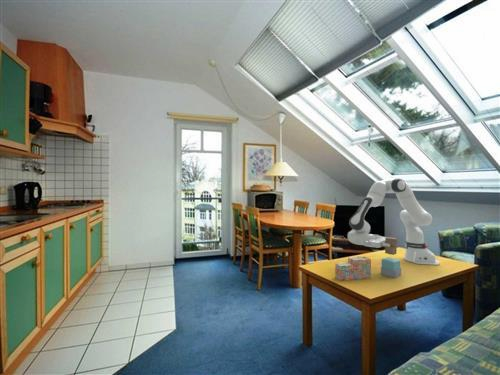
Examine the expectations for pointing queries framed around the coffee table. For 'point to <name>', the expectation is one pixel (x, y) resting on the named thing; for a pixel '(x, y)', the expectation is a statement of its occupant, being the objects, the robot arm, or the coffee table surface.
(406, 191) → the robot arm
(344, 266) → the stack of blocks
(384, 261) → the tower top
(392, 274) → the tower base
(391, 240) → the walnut block
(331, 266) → the coffee table surface
